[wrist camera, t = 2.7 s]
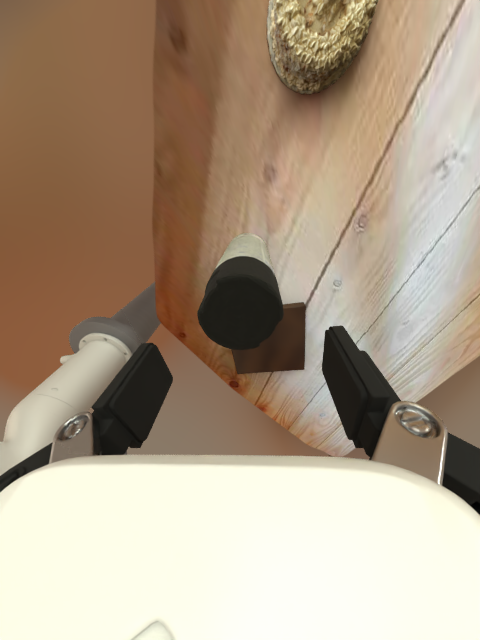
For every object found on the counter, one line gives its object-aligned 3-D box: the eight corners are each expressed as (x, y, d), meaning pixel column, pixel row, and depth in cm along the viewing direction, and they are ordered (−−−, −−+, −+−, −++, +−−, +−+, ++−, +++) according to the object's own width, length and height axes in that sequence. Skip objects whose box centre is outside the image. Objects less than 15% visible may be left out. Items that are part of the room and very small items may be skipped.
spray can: (219, 260, 32) (180, 329, 15) (241, 222, 28) (223, 254, 12) (252, 281, 33) (251, 365, 16) (276, 247, 30) (306, 308, 13)
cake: (366, 75, 21) (396, 49, 16) (274, 111, 23) (279, 96, 18) (383, -118, 15) (435, -236, 11) (257, -48, 17) (258, -124, 13)
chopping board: (238, 369, 45) (237, 374, 44) (224, 311, 37) (223, 315, 36) (302, 364, 43) (304, 369, 42) (303, 302, 35) (305, 305, 34)
